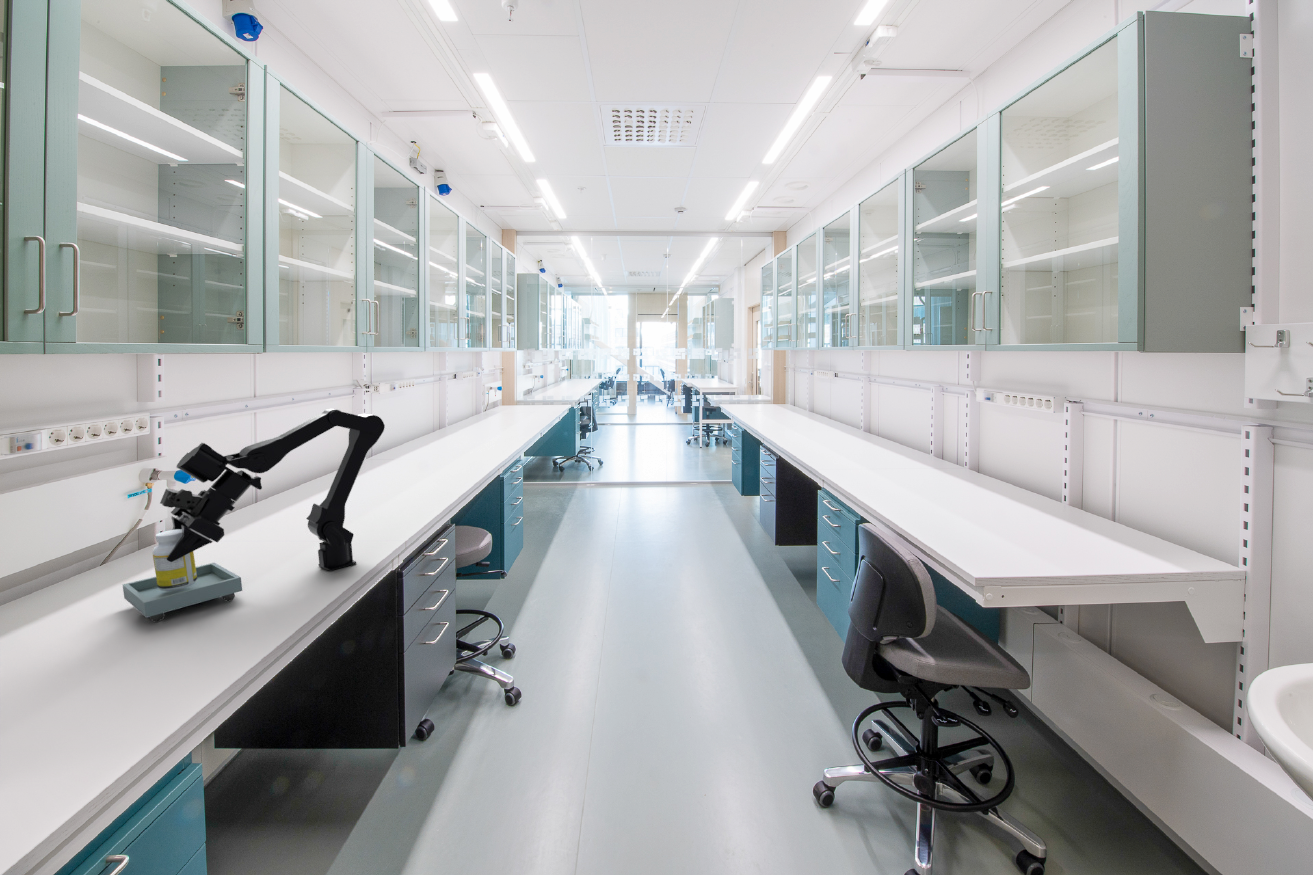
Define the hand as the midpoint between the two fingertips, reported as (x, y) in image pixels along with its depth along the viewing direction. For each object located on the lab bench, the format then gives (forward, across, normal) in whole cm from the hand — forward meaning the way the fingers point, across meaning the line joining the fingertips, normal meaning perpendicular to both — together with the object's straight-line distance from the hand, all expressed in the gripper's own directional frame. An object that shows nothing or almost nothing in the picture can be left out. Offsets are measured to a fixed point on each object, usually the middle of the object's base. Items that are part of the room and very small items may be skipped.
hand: (165, 557), depth 121 cm
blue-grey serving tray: (+6, 0, +9) cm, 11 cm away
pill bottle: (+4, 0, +6) cm, 7 cm away
